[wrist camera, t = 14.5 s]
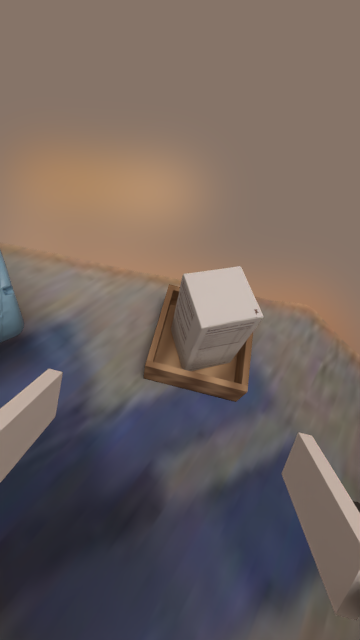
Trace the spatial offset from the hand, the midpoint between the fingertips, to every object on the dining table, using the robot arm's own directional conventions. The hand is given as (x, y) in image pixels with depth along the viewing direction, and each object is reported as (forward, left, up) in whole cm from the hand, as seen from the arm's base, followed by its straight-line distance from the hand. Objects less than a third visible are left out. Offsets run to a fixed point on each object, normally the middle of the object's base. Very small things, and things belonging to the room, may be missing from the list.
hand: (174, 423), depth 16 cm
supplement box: (+4, +22, -33) cm, 40 cm away
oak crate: (+4, +22, -34) cm, 40 cm away
